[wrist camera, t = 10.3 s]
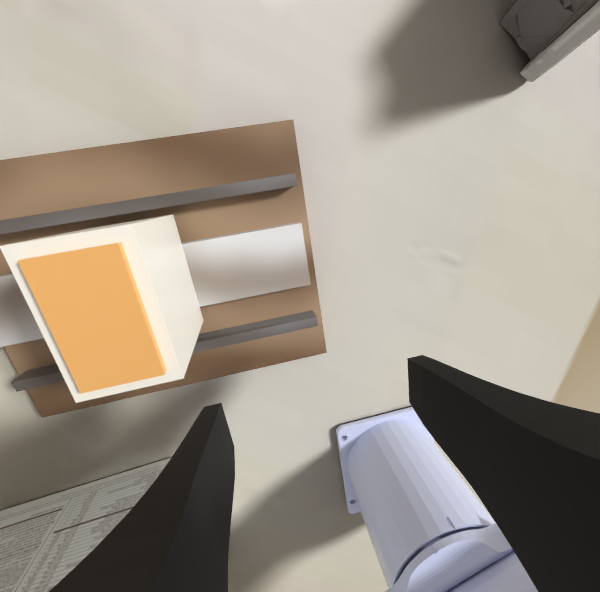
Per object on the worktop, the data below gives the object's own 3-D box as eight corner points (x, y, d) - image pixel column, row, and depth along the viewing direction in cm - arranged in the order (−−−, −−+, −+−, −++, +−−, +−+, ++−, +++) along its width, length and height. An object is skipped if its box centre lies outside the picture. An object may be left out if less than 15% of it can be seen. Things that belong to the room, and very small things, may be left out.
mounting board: (322, 345, 21) (331, 361, 19) (51, 406, 19) (28, 431, 17) (290, 123, 17) (296, 113, 15) (-70, 174, 15) (-122, 170, 13)
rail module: (203, 320, 17) (182, 382, 12) (131, 335, 17) (71, 408, 11) (173, 214, 16) (128, 224, 10) (91, 228, 15) (-9, 247, 9)
